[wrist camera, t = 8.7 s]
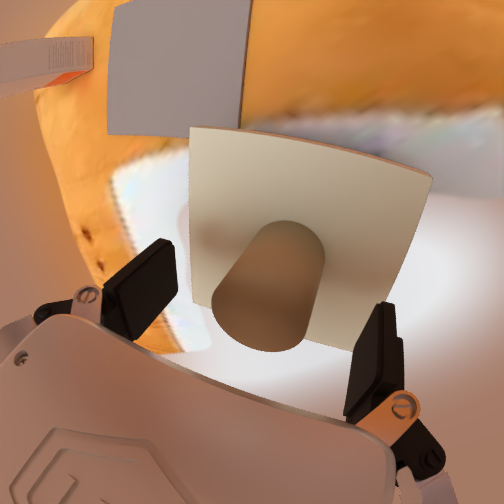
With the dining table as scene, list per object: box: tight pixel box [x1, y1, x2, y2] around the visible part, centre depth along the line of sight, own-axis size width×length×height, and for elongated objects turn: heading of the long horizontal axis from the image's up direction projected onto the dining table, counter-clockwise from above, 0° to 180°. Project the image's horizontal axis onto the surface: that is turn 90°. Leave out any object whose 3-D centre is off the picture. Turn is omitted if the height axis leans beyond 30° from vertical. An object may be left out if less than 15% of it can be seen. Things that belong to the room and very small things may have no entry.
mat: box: [107, 0, 252, 138], centre depth 17 cm, size 14×14×1 cm
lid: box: [189, 125, 433, 352], centre depth 13 cm, size 12×12×6 cm
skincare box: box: [0, 37, 93, 99], centre depth 15 cm, size 6×4×12 cm
